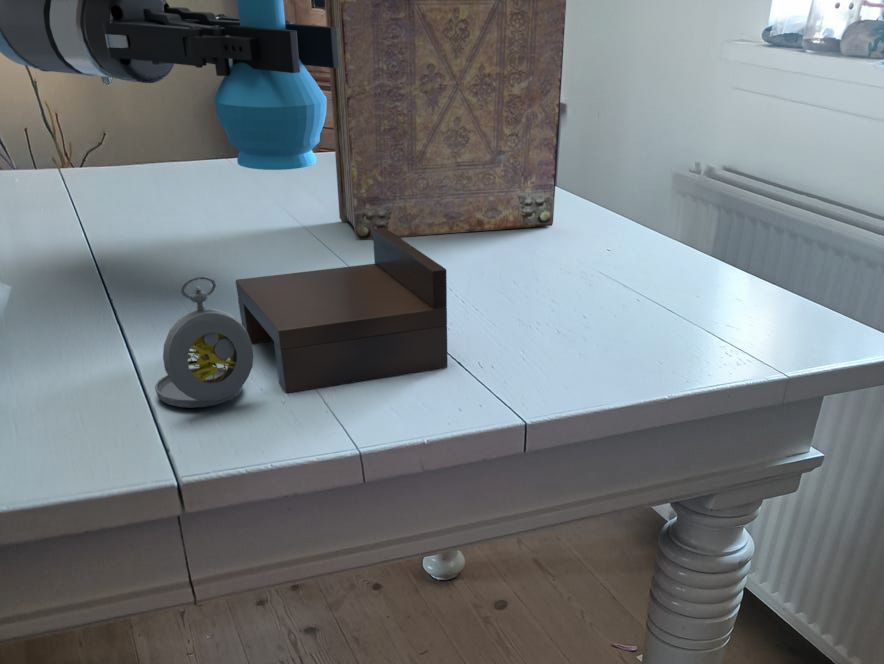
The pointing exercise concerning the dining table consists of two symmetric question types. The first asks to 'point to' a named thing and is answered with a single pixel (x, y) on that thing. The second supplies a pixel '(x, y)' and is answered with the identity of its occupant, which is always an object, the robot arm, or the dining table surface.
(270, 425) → the dining table surface
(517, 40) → the book
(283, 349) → the shelf
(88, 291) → the dining table surface
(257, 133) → the perfume bottle
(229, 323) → the pocket watch
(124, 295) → the dining table surface
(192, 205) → the dining table surface
